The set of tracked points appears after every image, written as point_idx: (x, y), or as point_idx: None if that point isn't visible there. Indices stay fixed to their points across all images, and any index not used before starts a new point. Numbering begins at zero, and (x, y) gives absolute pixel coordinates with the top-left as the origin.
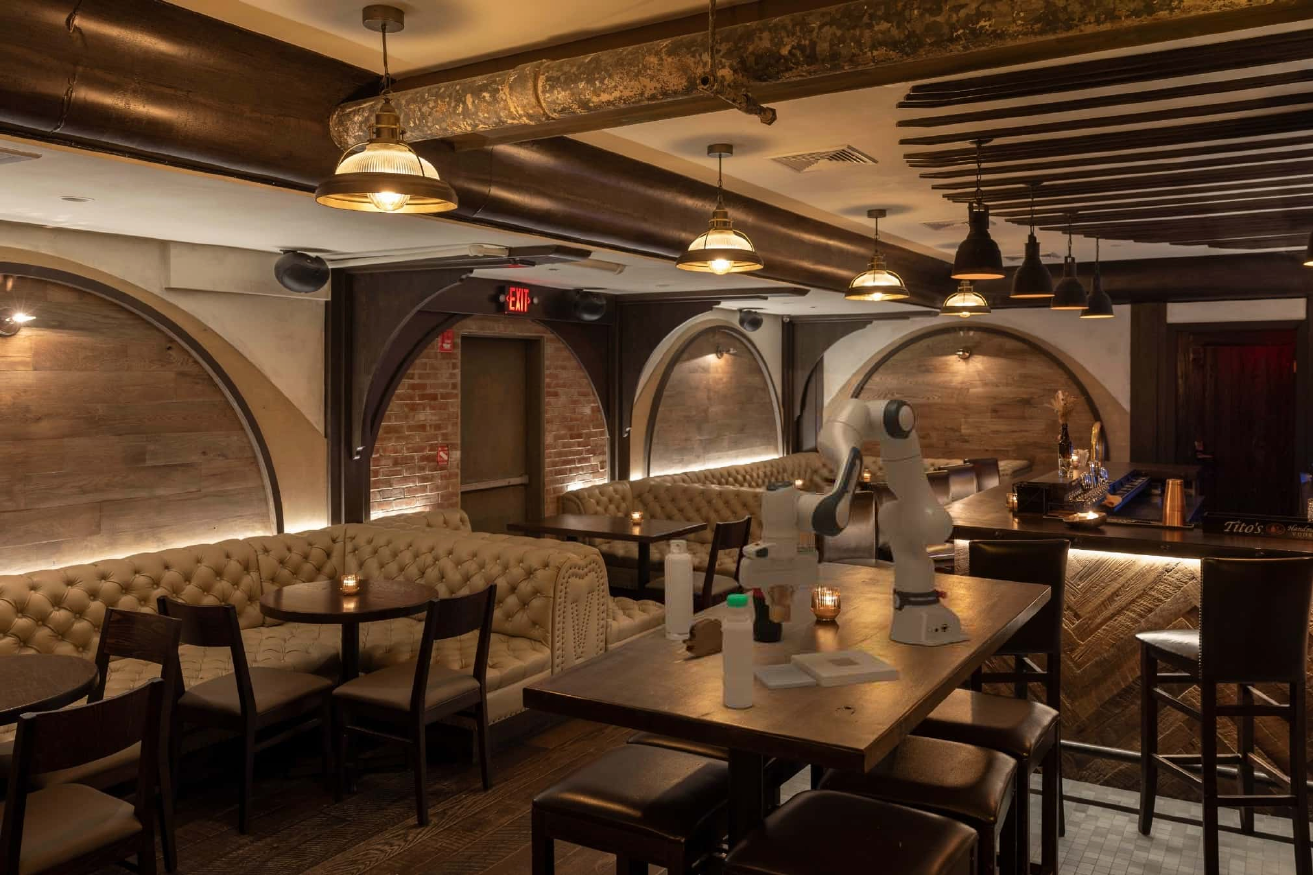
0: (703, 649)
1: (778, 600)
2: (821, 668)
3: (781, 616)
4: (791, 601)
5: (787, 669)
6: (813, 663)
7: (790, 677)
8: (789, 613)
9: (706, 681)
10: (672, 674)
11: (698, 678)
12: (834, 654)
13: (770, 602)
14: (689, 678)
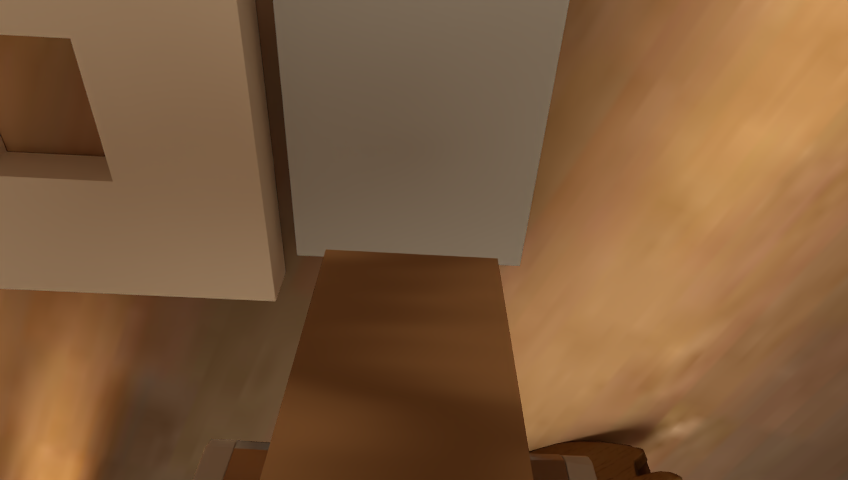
0: None
1: (476, 465)
2: (181, 39)
3: (427, 294)
4: (240, 457)
5: (347, 178)
6: (201, 147)
7: (391, 41)
8: (323, 307)
9: (770, 187)
10: (817, 315)
11: (767, 237)
12: (49, 249)
13: (561, 476)
14: (800, 249)
